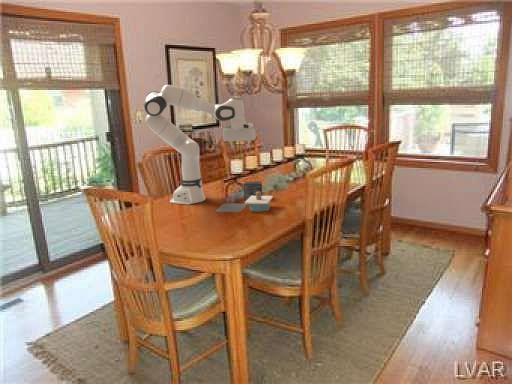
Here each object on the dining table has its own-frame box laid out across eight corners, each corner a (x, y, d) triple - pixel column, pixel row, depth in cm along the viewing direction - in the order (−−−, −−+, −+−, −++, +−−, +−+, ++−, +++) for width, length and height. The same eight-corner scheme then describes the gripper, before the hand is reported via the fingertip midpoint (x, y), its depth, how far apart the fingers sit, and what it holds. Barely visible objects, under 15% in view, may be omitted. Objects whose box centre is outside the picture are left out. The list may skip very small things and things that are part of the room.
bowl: (247, 211, 221) (246, 203, 219) (253, 205, 231) (252, 197, 230) (266, 212, 218) (266, 203, 216) (271, 206, 228) (270, 197, 226)
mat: (214, 212, 224) (214, 211, 224) (224, 204, 238) (223, 203, 238) (239, 212, 220) (239, 212, 220) (247, 204, 234) (247, 203, 234)
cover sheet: (244, 203, 219) (243, 195, 218) (251, 196, 231) (250, 189, 230) (267, 204, 215) (266, 195, 214) (272, 197, 227) (272, 189, 226)
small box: (262, 197, 247) (261, 180, 244) (262, 200, 241) (260, 183, 238) (246, 197, 248) (244, 181, 245) (244, 200, 242) (243, 184, 239)
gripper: (220, 126, 239) (222, 149, 243) (252, 125, 233) (254, 148, 237) (224, 125, 245) (226, 147, 249) (255, 123, 239) (257, 146, 243)
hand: (240, 147), depth 243 cm, fingers open, 8 cm apart
